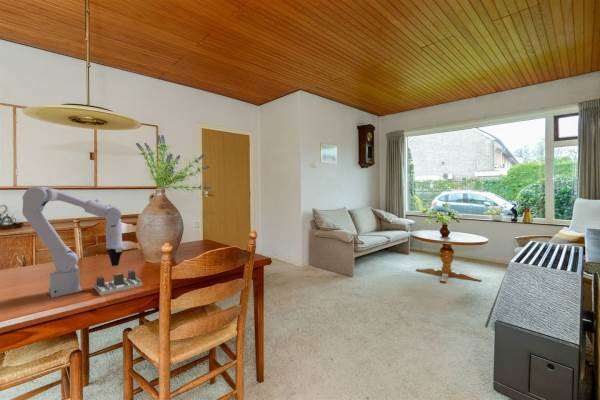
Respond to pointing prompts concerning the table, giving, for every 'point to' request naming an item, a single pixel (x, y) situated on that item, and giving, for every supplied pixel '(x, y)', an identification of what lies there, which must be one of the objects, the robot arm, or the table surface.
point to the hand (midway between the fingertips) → (115, 265)
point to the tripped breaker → (118, 278)
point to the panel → (111, 287)
